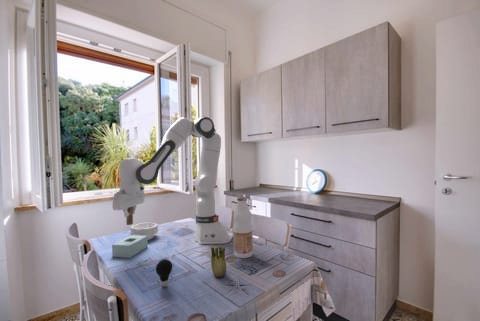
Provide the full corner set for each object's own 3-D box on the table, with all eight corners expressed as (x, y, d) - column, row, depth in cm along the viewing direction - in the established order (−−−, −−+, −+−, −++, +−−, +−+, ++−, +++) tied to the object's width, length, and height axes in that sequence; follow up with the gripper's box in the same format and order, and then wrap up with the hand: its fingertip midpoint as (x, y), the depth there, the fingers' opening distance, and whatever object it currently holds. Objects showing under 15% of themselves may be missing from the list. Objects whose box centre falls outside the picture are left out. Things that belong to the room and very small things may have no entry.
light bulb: (158, 282, 86) (158, 257, 86) (174, 281, 87) (173, 256, 87) (154, 291, 81) (153, 264, 81) (170, 290, 81) (170, 263, 81)
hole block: (147, 246, 123) (147, 235, 123) (130, 257, 109) (129, 245, 109) (131, 245, 125) (131, 235, 125) (112, 256, 111) (112, 244, 111)
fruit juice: (233, 259, 106) (232, 199, 105) (233, 251, 115) (232, 196, 115) (253, 258, 106) (252, 199, 106) (251, 250, 115) (250, 196, 115)
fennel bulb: (210, 275, 91) (209, 246, 91) (218, 271, 95) (218, 242, 95) (220, 280, 87) (219, 249, 87) (228, 275, 91) (228, 245, 91)
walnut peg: (134, 223, 118) (133, 204, 118) (130, 225, 115) (130, 205, 115) (129, 223, 119) (128, 204, 119) (125, 224, 116) (124, 205, 116)
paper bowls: (162, 234, 143) (162, 222, 143) (148, 243, 128) (148, 229, 128) (140, 233, 146) (140, 221, 146) (124, 242, 131) (124, 228, 131)
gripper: (120, 191, 106) (120, 221, 106) (146, 186, 126) (146, 211, 126) (108, 191, 107) (109, 220, 107) (136, 186, 127) (136, 210, 127)
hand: (129, 215), depth 117 cm, fingers closed on walnut peg, 3 cm apart
